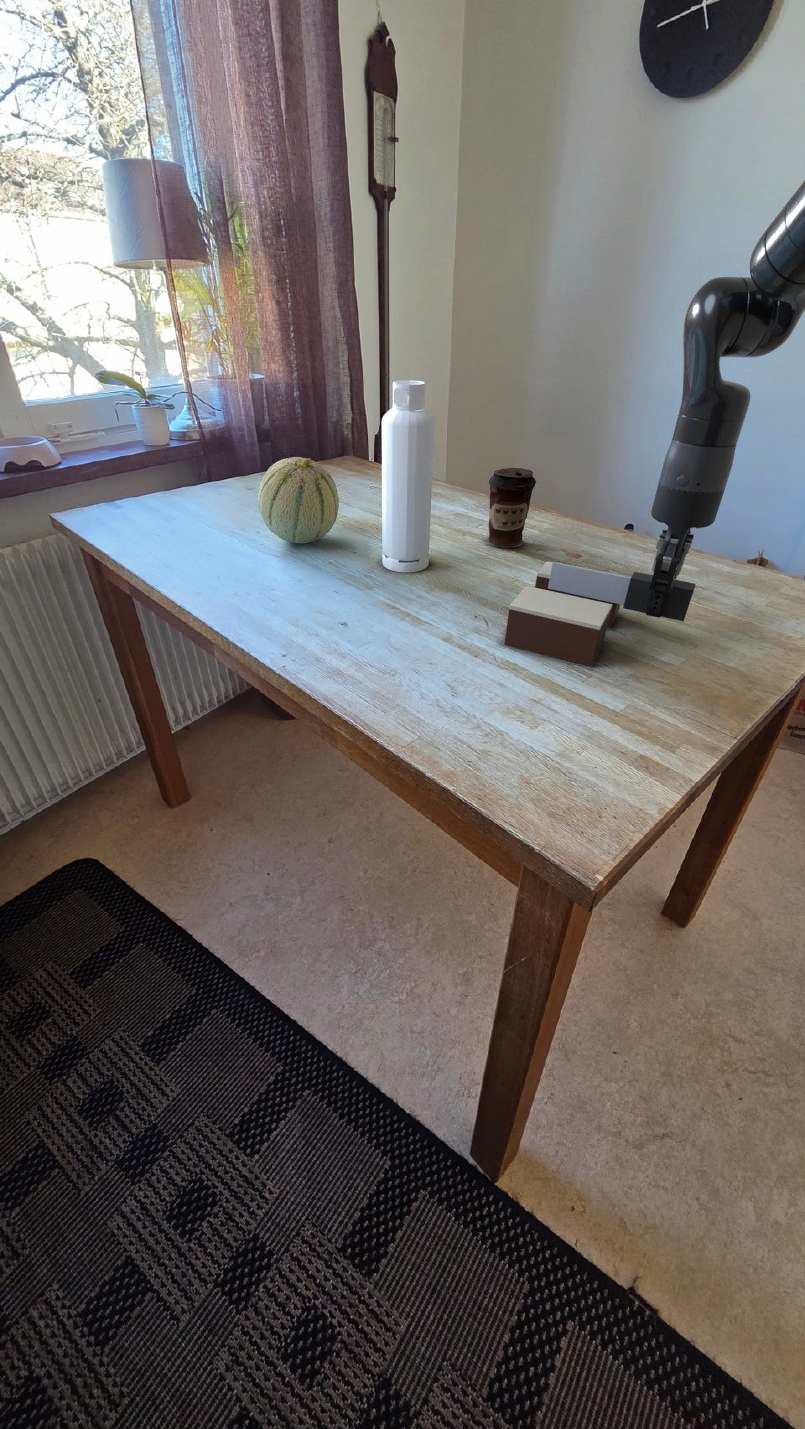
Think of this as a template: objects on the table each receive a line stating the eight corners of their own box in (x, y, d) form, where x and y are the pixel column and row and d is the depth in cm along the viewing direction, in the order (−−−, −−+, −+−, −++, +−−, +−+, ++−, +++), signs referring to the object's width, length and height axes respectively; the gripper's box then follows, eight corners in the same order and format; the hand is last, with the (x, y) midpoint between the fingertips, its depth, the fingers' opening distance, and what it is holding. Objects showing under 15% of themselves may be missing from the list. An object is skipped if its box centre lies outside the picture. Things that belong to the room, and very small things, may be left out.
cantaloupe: (277, 524, 120) (268, 444, 111) (348, 529, 119) (345, 448, 110) (250, 552, 108) (238, 464, 100) (329, 558, 107) (324, 469, 98)
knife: (685, 614, 83) (696, 583, 80) (683, 621, 81) (693, 590, 78) (550, 584, 89) (556, 555, 87) (545, 591, 87) (550, 561, 85)
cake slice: (617, 614, 91) (627, 577, 87) (610, 627, 87) (620, 589, 84) (540, 597, 95) (547, 561, 92) (531, 609, 92) (537, 572, 88)
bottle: (437, 561, 106) (446, 382, 90) (410, 576, 101) (415, 388, 84) (400, 551, 110) (403, 377, 93) (373, 564, 105) (370, 382, 88)
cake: (603, 643, 84) (612, 604, 80) (591, 667, 79) (600, 626, 75) (520, 623, 88) (526, 585, 84) (504, 644, 83) (509, 605, 79)
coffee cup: (530, 552, 111) (541, 479, 103) (485, 551, 111) (492, 478, 103) (523, 535, 118) (533, 465, 110) (481, 534, 118) (487, 464, 110)
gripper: (721, 500, 66) (677, 638, 77) (730, 472, 76) (689, 597, 87) (651, 490, 69) (617, 625, 79) (668, 464, 79) (636, 587, 89)
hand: (655, 610), depth 83 cm, fingers closed on knife, 2 cm apart
